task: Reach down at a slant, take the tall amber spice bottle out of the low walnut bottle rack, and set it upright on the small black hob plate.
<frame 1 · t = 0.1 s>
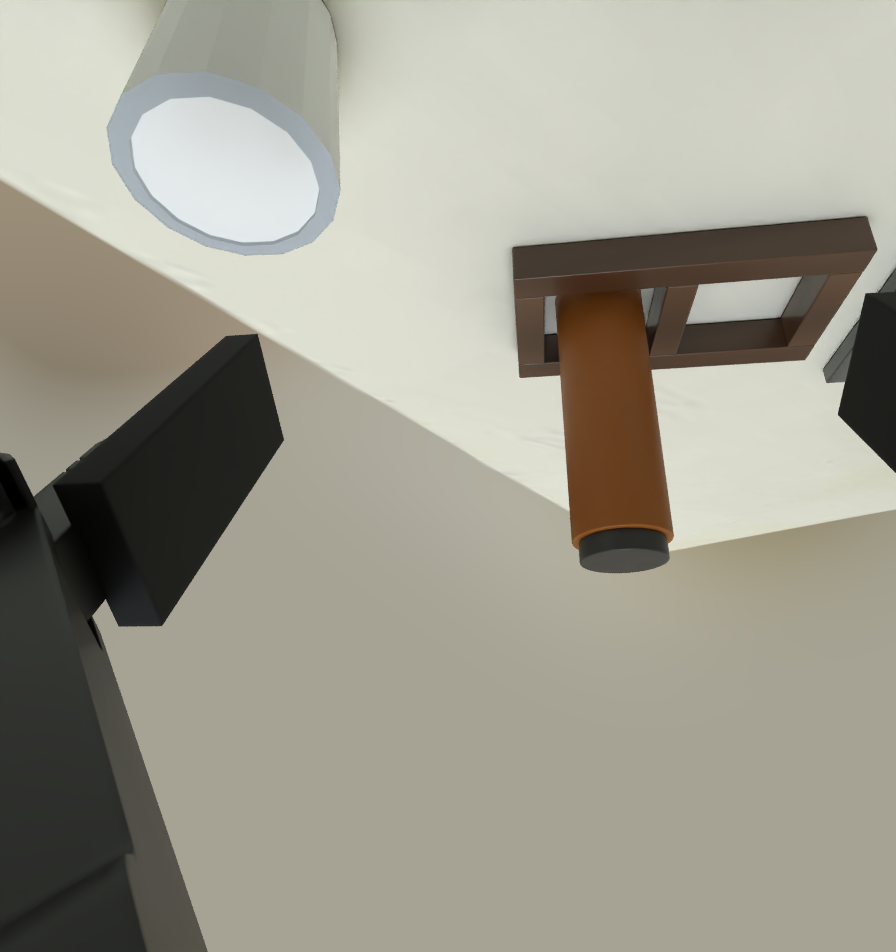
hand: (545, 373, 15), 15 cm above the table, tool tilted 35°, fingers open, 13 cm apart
bottle rack: (667, 293, 35), on the table
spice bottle: (597, 298, 36), resting in bottle rack
shot glass: (257, 31, 23), on the table
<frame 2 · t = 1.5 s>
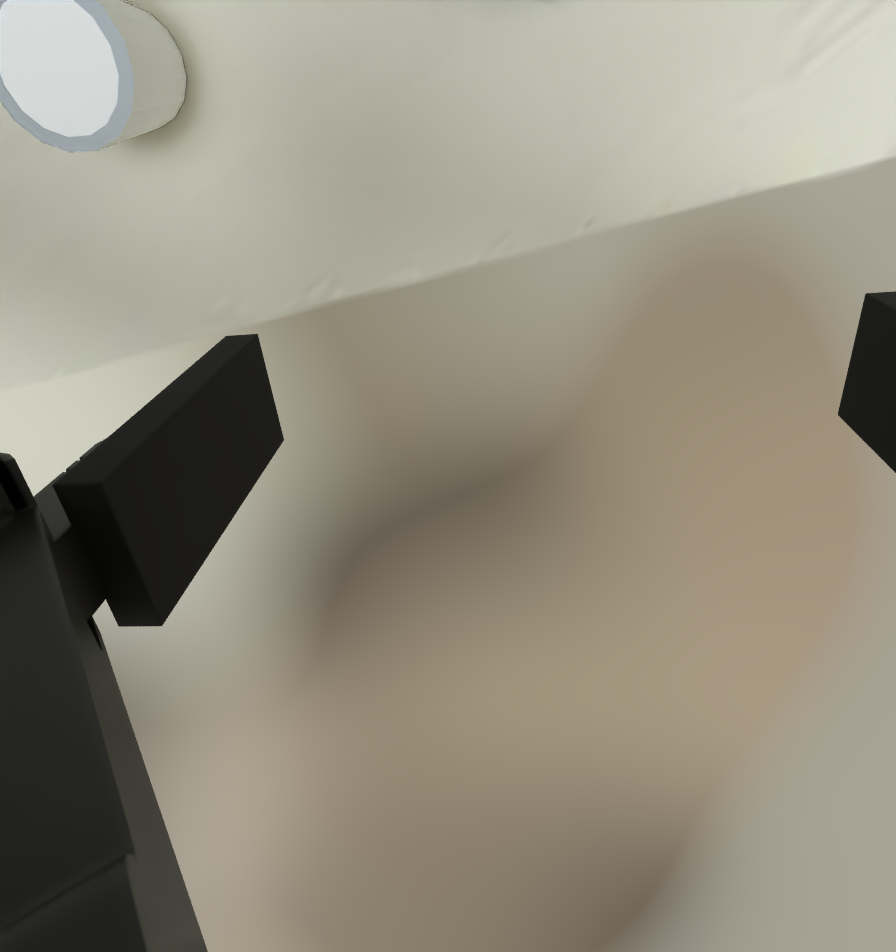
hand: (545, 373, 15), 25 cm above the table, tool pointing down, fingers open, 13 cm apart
shot glass: (135, 69, 34), on the table
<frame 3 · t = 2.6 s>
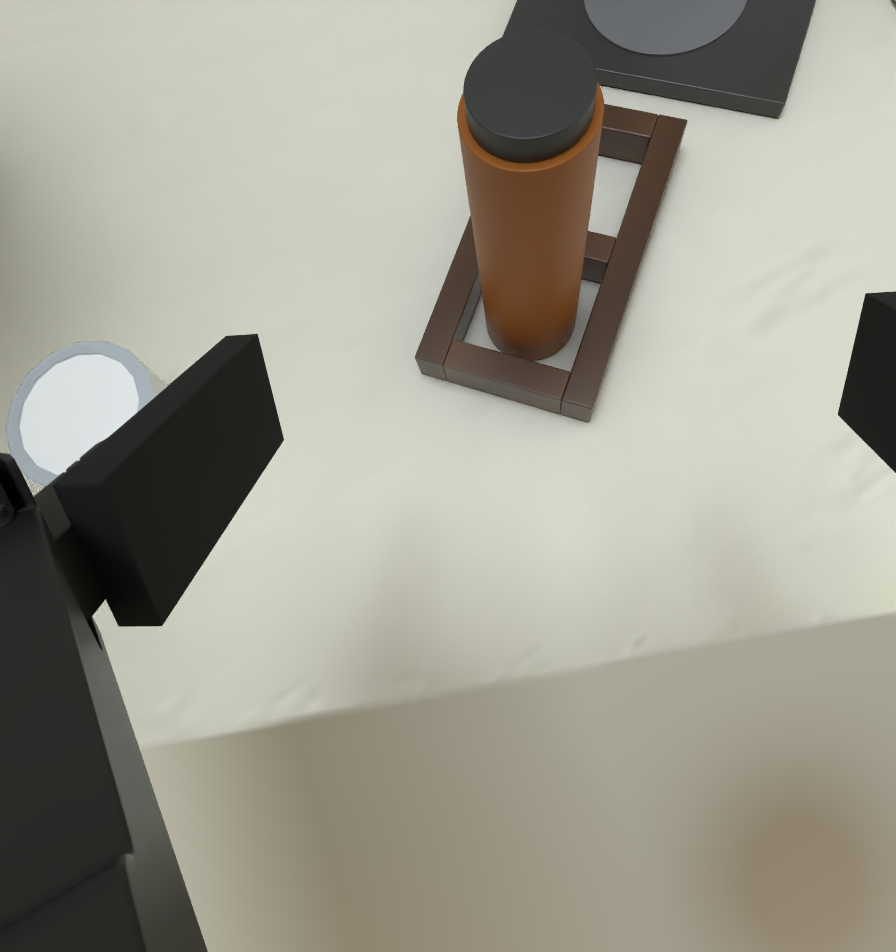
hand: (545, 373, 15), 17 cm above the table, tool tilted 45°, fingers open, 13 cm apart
bottle rack: (552, 258, 35), on the table
hob plate: (661, 7, 38), on the table
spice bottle: (530, 320, 34), resting in bottle rack
shot glass: (168, 457, 35), on the table
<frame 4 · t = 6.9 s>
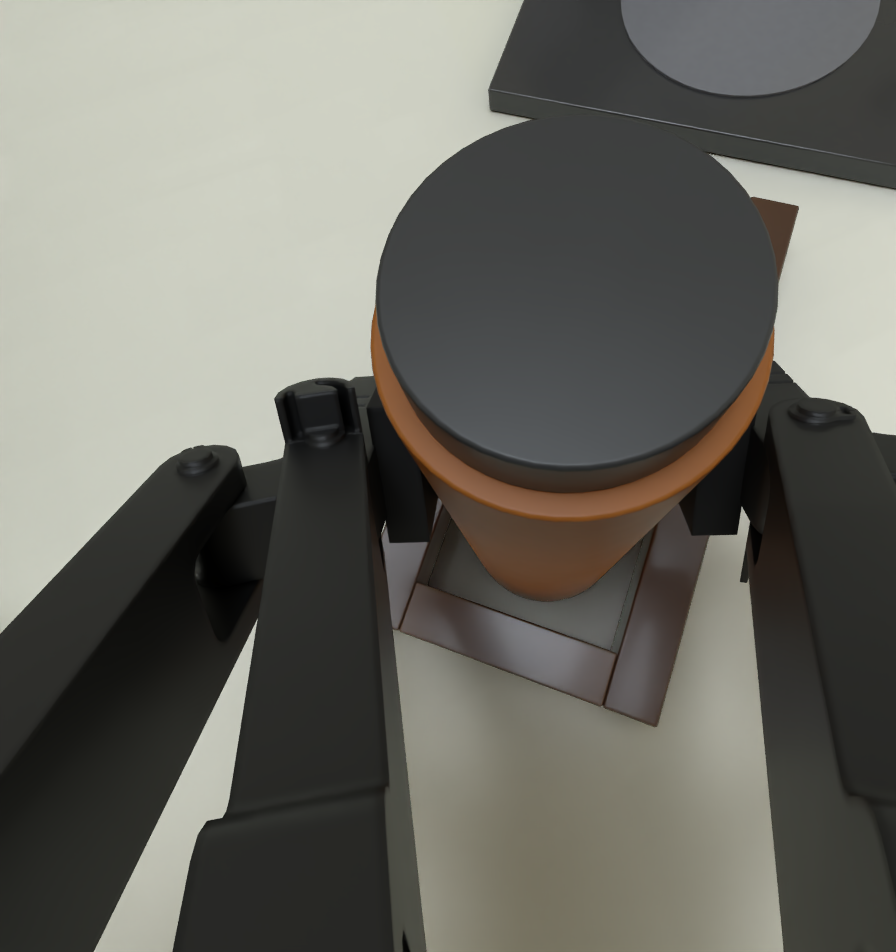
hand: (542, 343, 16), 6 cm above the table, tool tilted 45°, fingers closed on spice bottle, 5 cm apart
bottle rack: (579, 423, 22), on the table
hob plate: (738, 21, 25), on the table
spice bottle: (544, 529, 21), resting in bottle rack, touching gripper
when the fingers open (7 cm above the table, at t = 15.4 s): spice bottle stays where it is, resting on hob plate.
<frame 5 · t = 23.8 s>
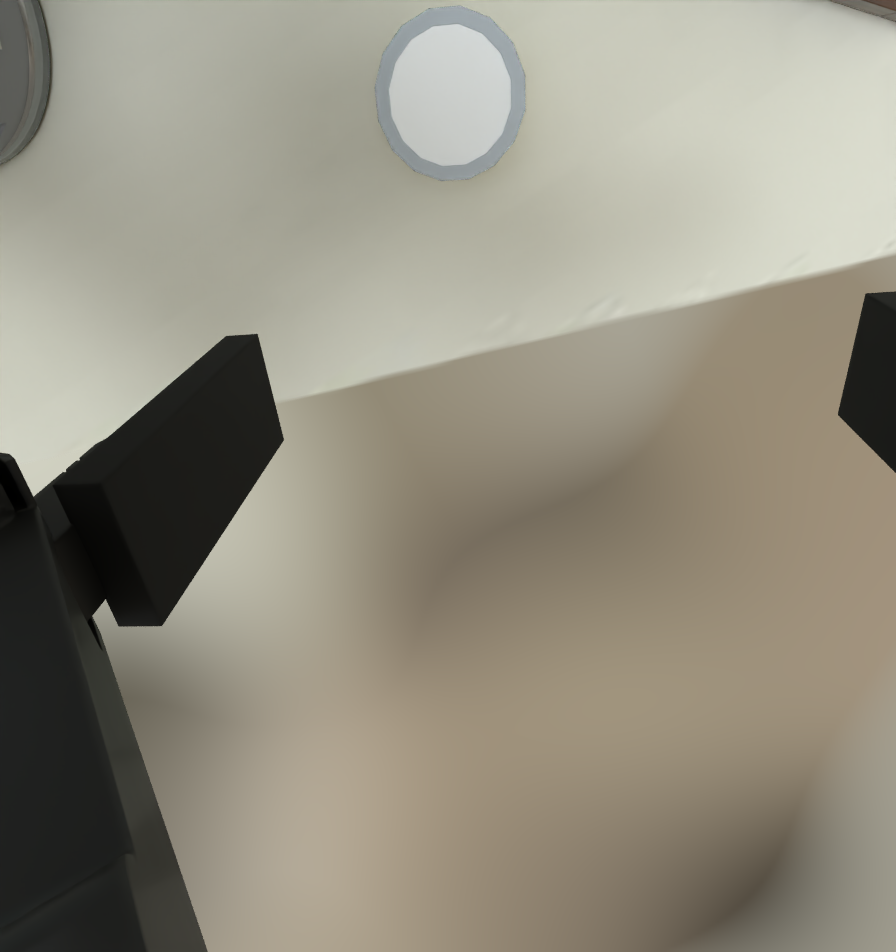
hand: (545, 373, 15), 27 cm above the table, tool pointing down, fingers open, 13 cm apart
shot glass: (460, 97, 35), on the table
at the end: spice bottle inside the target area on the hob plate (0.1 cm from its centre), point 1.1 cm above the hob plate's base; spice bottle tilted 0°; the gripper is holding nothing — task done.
